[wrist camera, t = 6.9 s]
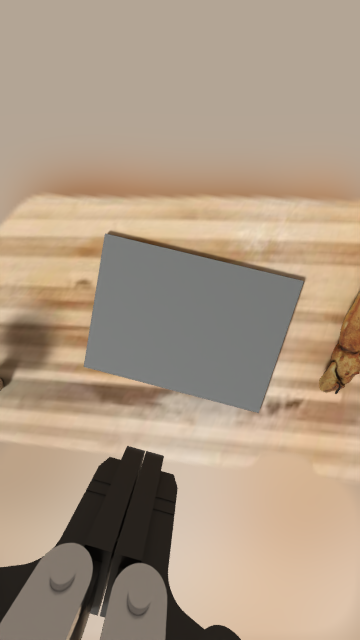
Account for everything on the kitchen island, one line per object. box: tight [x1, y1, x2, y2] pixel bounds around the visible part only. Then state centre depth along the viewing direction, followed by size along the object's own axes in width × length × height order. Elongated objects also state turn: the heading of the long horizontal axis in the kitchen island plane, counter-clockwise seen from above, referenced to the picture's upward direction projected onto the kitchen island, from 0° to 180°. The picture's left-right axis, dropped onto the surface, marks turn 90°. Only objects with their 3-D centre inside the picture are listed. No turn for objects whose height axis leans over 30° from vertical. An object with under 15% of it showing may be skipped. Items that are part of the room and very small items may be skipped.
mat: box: [84, 234, 304, 413], centre depth 34 cm, size 26×19×1 cm
